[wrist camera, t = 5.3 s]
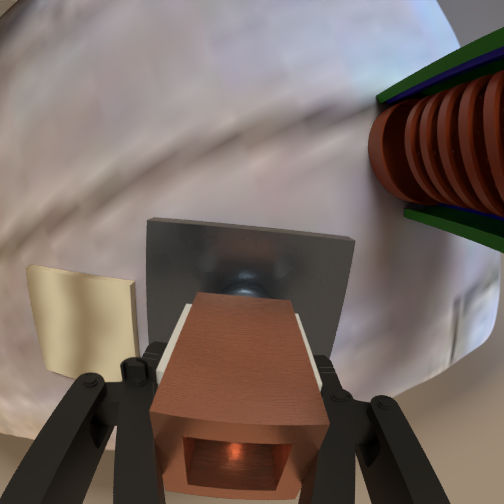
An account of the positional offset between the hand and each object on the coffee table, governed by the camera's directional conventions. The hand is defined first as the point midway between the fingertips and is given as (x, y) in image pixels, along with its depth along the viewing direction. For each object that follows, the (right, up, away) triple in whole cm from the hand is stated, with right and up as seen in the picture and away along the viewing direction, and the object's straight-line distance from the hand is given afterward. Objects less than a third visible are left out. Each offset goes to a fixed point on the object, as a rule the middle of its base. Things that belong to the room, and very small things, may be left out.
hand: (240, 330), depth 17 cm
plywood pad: (-14, -2, +5) cm, 15 cm away
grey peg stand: (0, +1, +5) cm, 5 cm away
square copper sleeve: (0, 0, -1) cm, 1 cm away
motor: (+13, +13, +2) cm, 18 cm away
